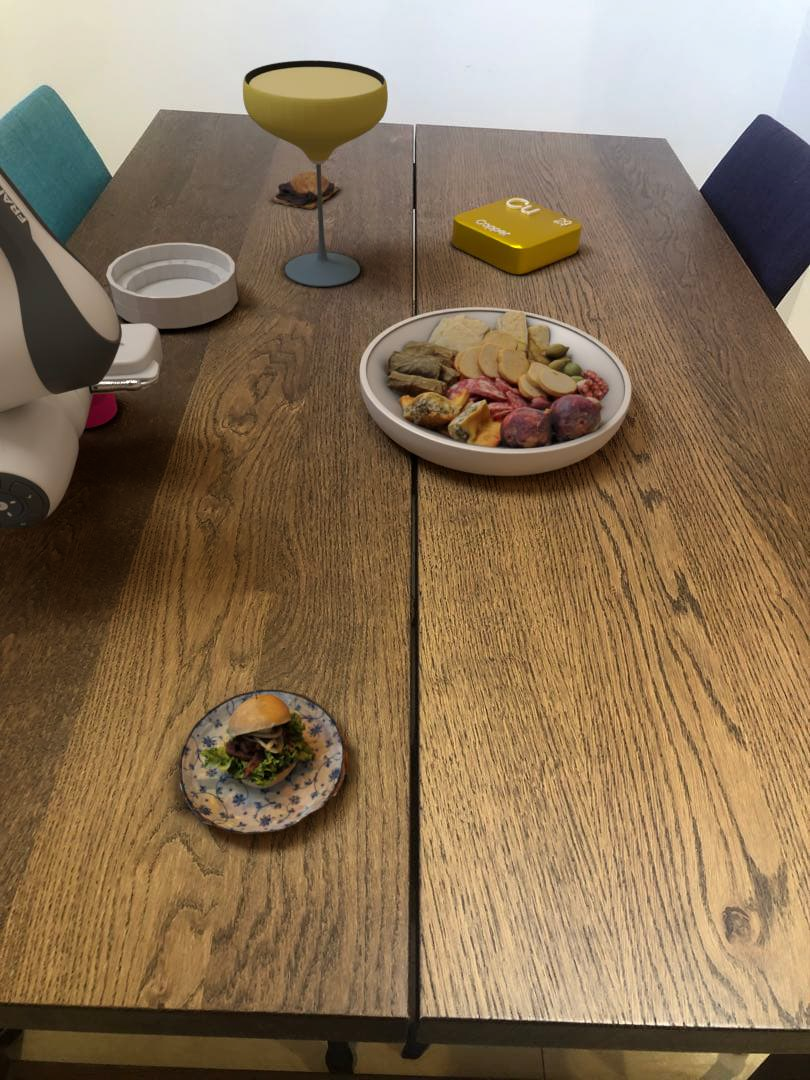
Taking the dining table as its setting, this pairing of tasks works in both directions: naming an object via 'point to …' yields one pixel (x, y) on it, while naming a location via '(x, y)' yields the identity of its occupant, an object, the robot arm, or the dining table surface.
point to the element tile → (516, 235)
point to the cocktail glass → (316, 132)
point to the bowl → (494, 390)
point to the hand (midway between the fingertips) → (65, 318)
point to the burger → (262, 762)
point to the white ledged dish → (173, 285)
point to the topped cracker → (304, 190)
